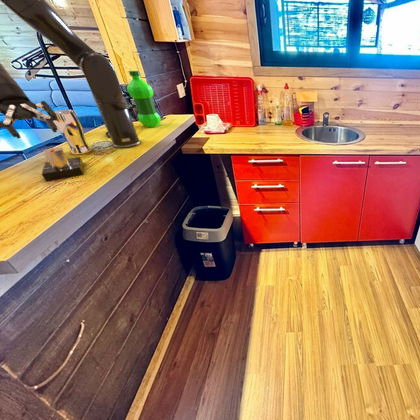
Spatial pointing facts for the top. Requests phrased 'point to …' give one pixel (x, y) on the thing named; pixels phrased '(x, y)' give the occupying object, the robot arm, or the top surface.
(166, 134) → the top surface
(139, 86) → the plastic bottle
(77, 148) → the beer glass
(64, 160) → the dial
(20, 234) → the top surface
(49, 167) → the black flat block
